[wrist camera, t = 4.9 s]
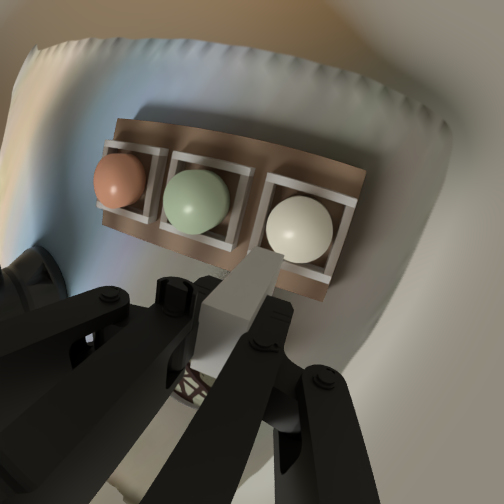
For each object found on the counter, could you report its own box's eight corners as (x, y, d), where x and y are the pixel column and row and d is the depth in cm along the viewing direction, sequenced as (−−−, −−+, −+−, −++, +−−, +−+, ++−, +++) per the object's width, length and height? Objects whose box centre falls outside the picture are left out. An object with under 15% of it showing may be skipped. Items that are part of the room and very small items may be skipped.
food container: (166, 304, 38) (124, 340, 29) (200, 290, 36) (159, 328, 27) (210, 373, 40) (182, 418, 31) (245, 365, 38) (221, 414, 28)
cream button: (264, 245, 29) (259, 251, 27) (280, 187, 27) (275, 188, 25) (321, 263, 28) (320, 271, 26) (340, 205, 26) (341, 209, 24)
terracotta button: (104, 199, 31) (91, 202, 29) (111, 150, 29) (97, 150, 27) (141, 210, 30) (128, 214, 28) (150, 157, 28) (136, 157, 26)
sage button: (171, 220, 29) (158, 224, 27) (181, 164, 27) (169, 164, 25) (222, 236, 28) (213, 242, 26) (236, 177, 26) (227, 178, 24)
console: (116, 220, 37) (93, 227, 32) (131, 120, 32) (108, 116, 28) (323, 290, 32) (321, 309, 27) (362, 171, 27) (369, 170, 23)
